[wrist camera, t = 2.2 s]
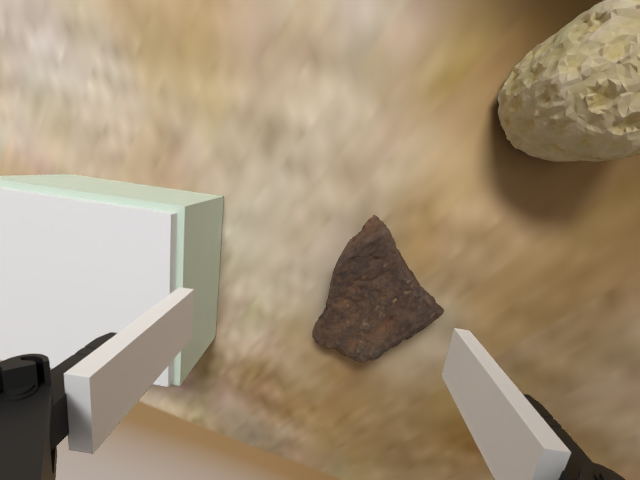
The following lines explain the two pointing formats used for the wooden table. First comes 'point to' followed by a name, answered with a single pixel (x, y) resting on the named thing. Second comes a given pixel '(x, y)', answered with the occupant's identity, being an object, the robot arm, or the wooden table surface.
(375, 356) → the rock
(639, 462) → the wooden table surface
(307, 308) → the wooden table surface
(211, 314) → the scale
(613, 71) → the decorative object
